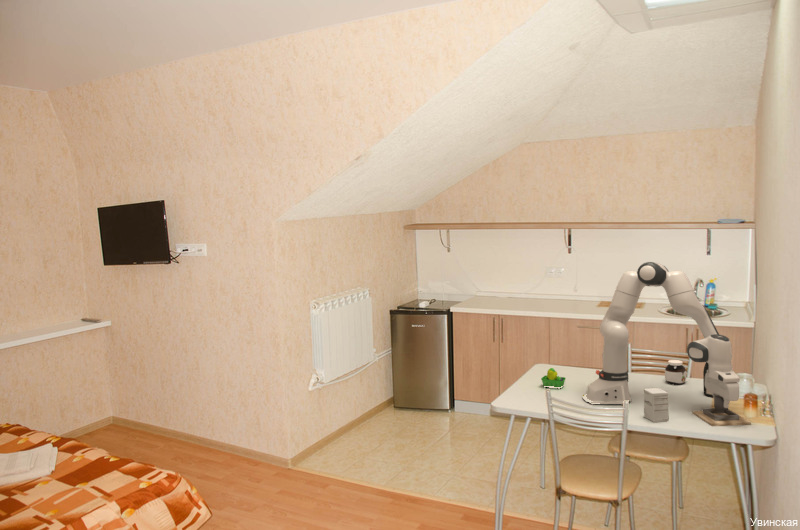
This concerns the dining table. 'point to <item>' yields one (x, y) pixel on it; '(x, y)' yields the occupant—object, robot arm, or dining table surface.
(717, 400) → the dark grey cylinder
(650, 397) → the supplement box
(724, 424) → the holder board
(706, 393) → the wine bottle
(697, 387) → the dining table surface
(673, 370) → the spread jar
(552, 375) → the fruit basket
